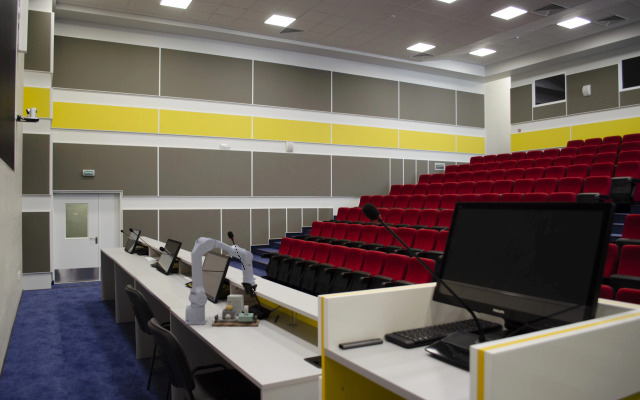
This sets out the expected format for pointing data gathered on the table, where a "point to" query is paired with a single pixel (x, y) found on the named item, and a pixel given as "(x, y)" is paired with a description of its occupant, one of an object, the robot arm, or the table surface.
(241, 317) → the carriage
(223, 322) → the rail bed
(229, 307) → the gauge button
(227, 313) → the gauge cabinet
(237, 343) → the table surface
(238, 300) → the small box
